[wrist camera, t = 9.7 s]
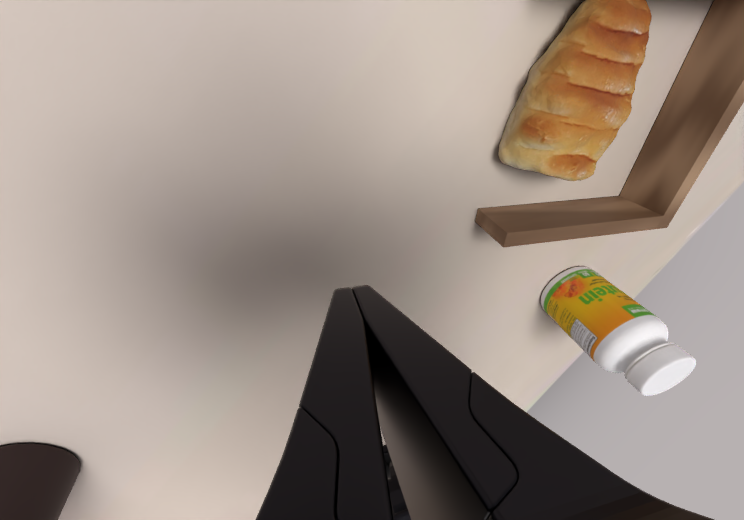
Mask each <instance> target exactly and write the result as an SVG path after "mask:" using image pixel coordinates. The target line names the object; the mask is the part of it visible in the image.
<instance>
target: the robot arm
mask: <svg viewBox="0 0 744 520" xmlns="http://www.w3.org/2000/svg"><path fill="white" fill-rule="evenodd" d="M471 372H472V371H471V369H470V368H468V367H467V366H466V365H465V364H464V363H462V362H461V361H460V360H459V359H458V358H456V357H455V356H454V355H453V354H451V353H450V352H449V351H448V350H447V349H445V348H444V347H443V346H442V345H441V344H439V343H438V342H437V341H436V340H434V339H433V338H432V337H431V336H430V335H428V334H427V333H426V332H425V331H424V330H422V329H421V328H420V327H419V326H417V325H416V324H415V323H414V322H413V321H411V320H410V319H409V318H408V317H407V316H405V315H404V314H403V313H402V312H400V311H399V310H398V309H397V308H396V307H394V306H393V305H392V304H391V303H390V302H388V301H387V300H386V299H385V298H383V297H382V296H381V295H380V294H379V293H377V292H376V291H375V290H374V289H373V288H371V287H370V286H368V285H363V286H356V287H353V288H352V289H351V288H349V287H348V288H340V289H336V290H335V291H334V293H333V296H332V299H331V303H330V306H329V309H328V312H327V316H326V319H325V322H324V325H323V329H322V332H321V335H320V339H319V342H318V345H317V348H316V352H315V355H314V358H313V361H312V365H311V368H310V371H309V375H308V378H307V381H306V384H305V388H304V391H303V394H302V397H301V401H300V404H299V409H298V410H297V413H296V416H295V420H294V423H293V426H292V429H291V432H290V435H289V438H288V441H287V444H286V447H285V450H284V453H283V455H282V458H281V461H280V463H279V466H278V468H277V471H276V473H275V475H274V478H273V480H272V483H271V485H270V488H269V490H268V493H267V495H266V497H265V500H264V502H263V504H262V506H261V509H260V511H259V513H258V515H257V518H256V520H714V519H711V518H708V517H705V516H702V515H699V514H696V513H693V512H691V511H687V510H685V509H682V508H679V507H676V506H674V505H672V504H669V503H667V502H665V501H662V500H660V499H658V498H656V497H654V496H652V495H650V494H648V493H646V492H644V491H642V490H640V489H639V488H637V487H635V486H633V485H632V484H630V483H628V482H627V481H625V480H623V479H622V478H620V477H619V476H617V475H616V474H614V473H613V472H611V471H610V470H608V469H607V468H605V467H604V466H602V465H601V464H600V463H598V462H597V461H595V460H594V459H592V458H591V457H589V456H588V455H587V454H585V453H584V452H582V451H581V450H579V449H578V448H576V447H575V446H574V445H572V444H570V443H569V442H568V441H566V440H564V439H563V438H562V437H560V436H559V435H558V434H556V433H555V432H553V431H552V430H550V429H549V428H547V427H546V426H544V425H543V424H542V423H540V422H539V421H537V420H536V419H535V418H533V417H532V416H530V415H529V414H528V413H526V412H525V411H523V410H522V409H521V408H519V407H518V406H516V405H515V404H514V403H512V402H511V401H510V400H508V399H507V398H506V397H505V396H503V395H502V394H501V393H500V392H498V391H497V390H496V389H494V388H493V387H492V386H491V385H489V384H488V383H487V382H486V381H484V380H483V379H482V378H481V377H480V376H478V375H477V374H476V373H475V372H473V373H471ZM380 427H381V430H382V433H383V436H384V439H385V442H386V445H384V446H383V444H382V437H381V431H380Z"/></svg>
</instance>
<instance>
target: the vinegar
mask: <svg viewBox="0 0 744 520" xmlns="http://www.w3.org/2000/svg"><path fill="white" fill-rule="evenodd" d="M79 472H80V462H79V461H78V459H77V458H76V457H75V456H74V455H73V454H72V453H70V452H68V451H66V450H64V449H62V448H58V447H54V446H50V445H42V444H32V443H30V444H12V445H6V446H0V520H58V518H59V516H60V513H61V511H62V509H63V507H64V505H65V503H66V500H67V498H68V496H69V494H70V492H71V489H72V487H73V485H74V483H75V481H76V479H77V476H78V474H79Z"/></svg>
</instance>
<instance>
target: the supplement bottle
mask: <svg viewBox="0 0 744 520" xmlns="http://www.w3.org/2000/svg"><path fill="white" fill-rule="evenodd" d="M541 306H542V308H543V309H544V310H545V311H546V313H547V314H548V315H549V316H550V317H551V318H552V319H553V320H554V321H555V322H556V323H557V324H558V325H559V326H560V327H561V328H562V329H563V330H564V331H565V332H566V333H567V334H568V335H569V336H570V337H571V338H572V339H573V340H574V341H575V342H576V343H577V344H578V345H579V346H580V347H581V348H582V349H583V350H584V351H585V352H586V353H587V354H588V355H589V356H590V357H591V358H592V359H593V360H594V361H595V362H596V363H597V364H598V365H599V366H600V367H601V368H603V369H604V370H606V371H609V372H615V373H621V372H624V373H625V378H626V379H627V380H628V382H629V383H630V384H631V385H632V386H633V387H635V388H636V389H637V390H638V391H639V392H640V393H641V394H643V395H645V396H651V395H656V394H659V393H661V392H664V391H666V390H668V389H670V388H671V387H673V386H675V385H676V384H678V383H679V382H681V381H682V380H683V379H685V378H686V377H687V376H688V375H689V374H690V373H691V372H692V371H693V369H694V368H695V366H696V360H695V359H694V358H693V357H692V356H691V355H689V354H688V353H687V352H686V351H685V350H683V349H682V348H681V347H679V346H677V345H676V344H675V343H671V342H669V343H668V342H667V340H668V329H667V326H666V325H665V323H664V322H663V321H661V320H660V319H659V318H658V317H657V316H655V315H654V314H652V313H651V312H650V311H648V310H647V309H645V308H644V307H643V306H641V305H640V304H638V303H637V302H636V301H634V300H633V299H632V298H630V297H629V296H628V295H626V294H625V293H624V292H622V291H621V290H619V289H618V288H617V287H615V286H614V285H613V284H611V283H610V282H608V281H607V280H606V279H604V278H603V277H602V276H600V275H599V274H598V273H596V272H595V271H593V270H592V269H590V268H588V267H583V266H579V267H573V268H570V269H568V270H566V271H564V272H562V273H560V274H559V275H557V276H556V277H555V278H554V279H552V280H551V281H550V283H549V284H548V285H547V286H546V287H545V289H544V291H543V293H542V296H541Z"/></svg>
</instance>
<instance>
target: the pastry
mask: <svg viewBox="0 0 744 520" xmlns="http://www.w3.org/2000/svg"><path fill="white" fill-rule="evenodd" d="M651 17H652V16H651V12H650V9H649V7H648V5H647V2H646V1H645V0H585V1H583V2H582V3H581V4H580V6H579V7H578V8H577V10H576V11H575V12H574V13H573V14H572V15H571V17H570V18H569V20H568V21H567V23H566V25H565V27H564V28H563V30H562V31H561V32H560V34H559V35H558V36H557V37H556V39H555V40H554V41H553V42H552V43H551V45H550V46H549V48H548V49H547V51H546V52H545V53H544V54H543V55H542V56H541V57H540V58H539V59H538V60H537V61H536V62H535V64H534V65H533V66H532V68H531V69H530V71H529V74H528V80H527V83H526V84H525V86H524V87H523V89H522V91H521V94H520V96H519V98H518V100H517V102H516V105H515V107H514V108H513V110H512V112H511V114H510V117H509V119H508V121H507V124H506V127H505V130H504V132H503V135H502V139H501V142H500V145H499V153H498V155H499V158H500V160H501V162H502V163H504V164H506V165H509V166H512V167H514V168H518V169H521V170H531V171H534V172H540V173H542V174H545V175H548V176H554V177H556V178H560V179H564V180H568V181H576V180H584V179H586V178H588V177H590V176H592V175H593V174H594V170H595V168H596V162H597V161H598V159H599V158H600V157H601V156H602V155H603V153H604V151H605V150H606V149H607V148H608V146H609V145H610V144H611V143H612V141H613V140H614V139H615V137H616V135H617V132H618V130H619V128H620V127H621V126H622V124H623V123H624V122H625V121H626V120H627V118H628V116H629V114H630V112H631V108H632V107H631V99H632V94H633V92H634V90H635V81H636V76H637V74H638V71H639V69H640V67H641V65H642V63H643V61H644V58H645V50H646V45H647V42H648V38H649V25H650V22H651Z"/></svg>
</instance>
